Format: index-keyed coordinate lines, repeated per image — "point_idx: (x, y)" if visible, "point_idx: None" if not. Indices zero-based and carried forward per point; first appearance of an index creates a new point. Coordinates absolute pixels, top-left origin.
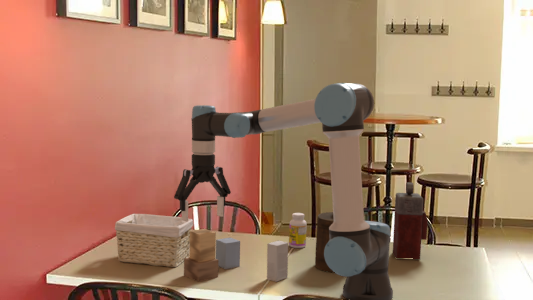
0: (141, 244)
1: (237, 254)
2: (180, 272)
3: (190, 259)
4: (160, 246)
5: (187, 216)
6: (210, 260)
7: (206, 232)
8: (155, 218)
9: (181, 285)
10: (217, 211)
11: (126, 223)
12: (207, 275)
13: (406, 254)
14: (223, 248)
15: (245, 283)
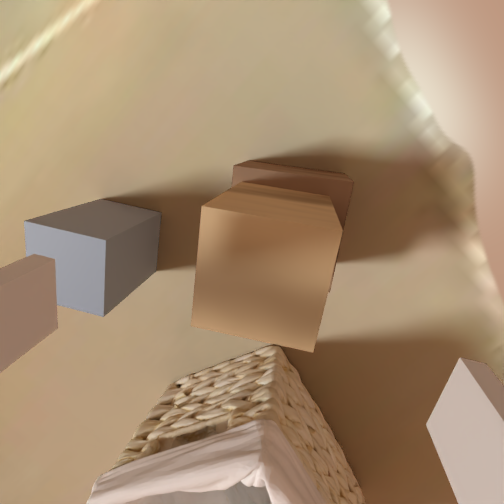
0: (341, 501)
1: (81, 211)
2: None
3: None
4: (307, 441)
5: (498, 401)
6: (269, 184)
7: (253, 251)
8: None
9: (427, 185)
10: (26, 345)
11: None
12: (300, 168)
13: None
14: (121, 249)
15: (226, 10)
